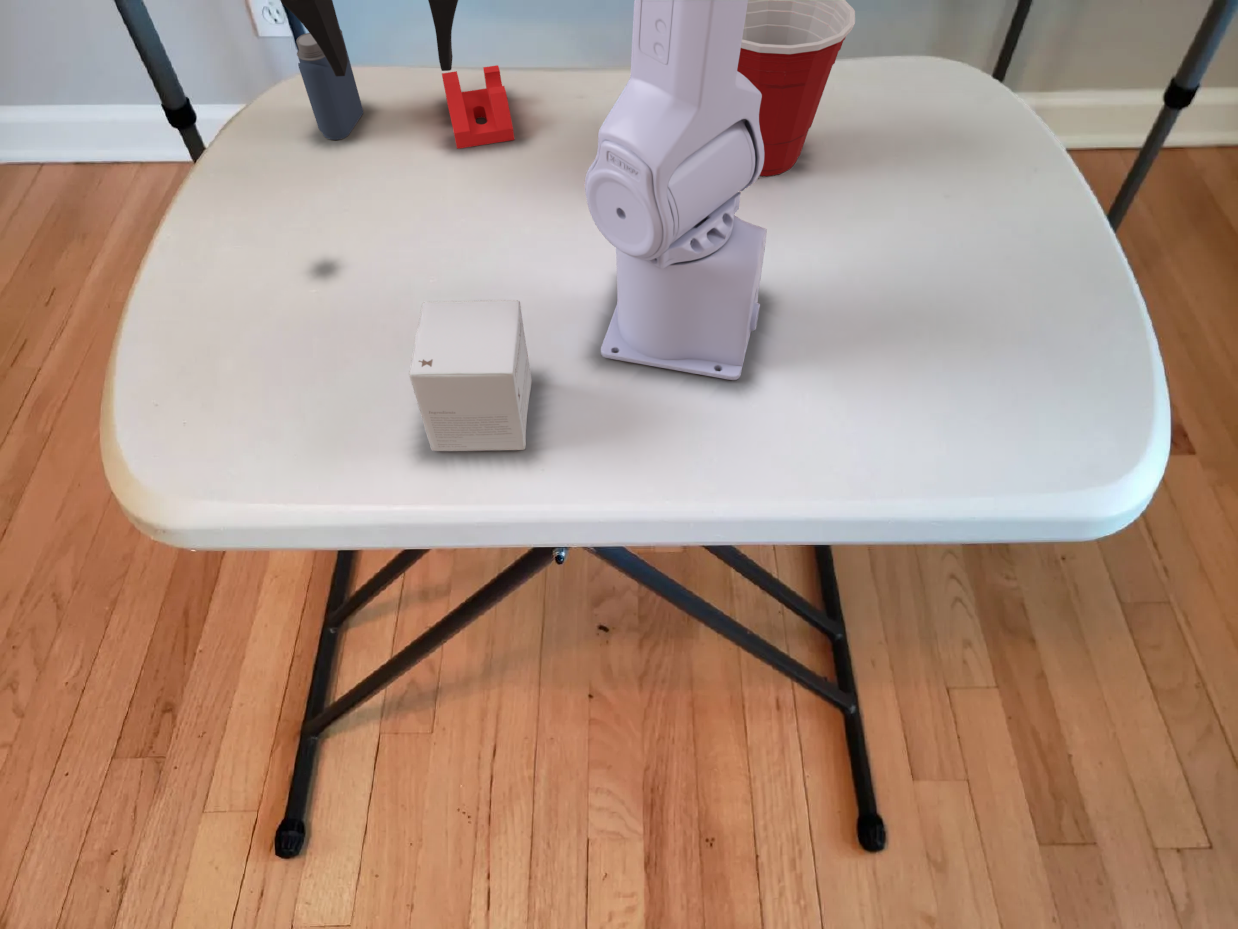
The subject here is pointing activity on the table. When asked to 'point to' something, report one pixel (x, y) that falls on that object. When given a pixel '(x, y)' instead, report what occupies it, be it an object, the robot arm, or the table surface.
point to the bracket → (479, 110)
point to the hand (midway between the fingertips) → (394, 66)
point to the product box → (472, 375)
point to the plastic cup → (790, 68)
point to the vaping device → (328, 90)
